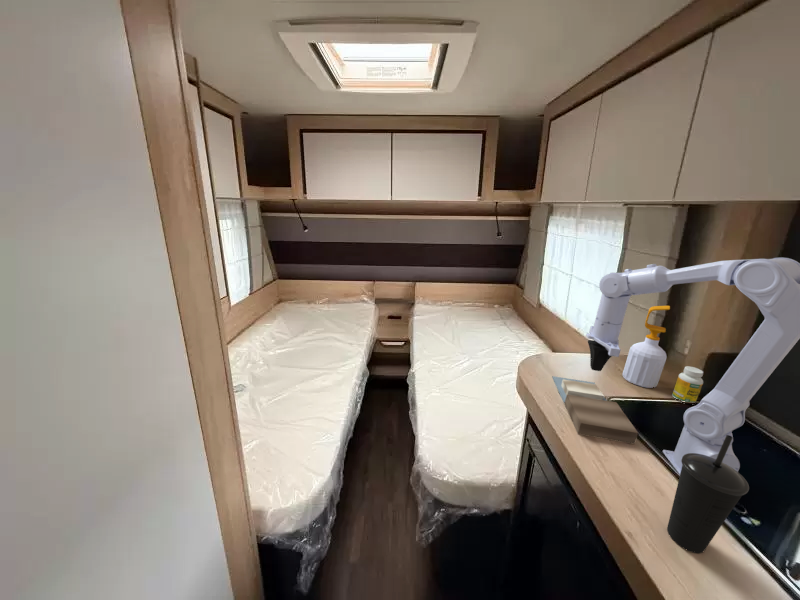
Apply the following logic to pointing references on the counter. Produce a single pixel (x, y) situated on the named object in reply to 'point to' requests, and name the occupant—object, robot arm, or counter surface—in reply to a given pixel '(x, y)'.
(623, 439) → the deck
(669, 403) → the counter surface
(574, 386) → the tile
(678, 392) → the supplement bottle
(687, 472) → the drinking cup
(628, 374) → the soap bottle
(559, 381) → the mat
